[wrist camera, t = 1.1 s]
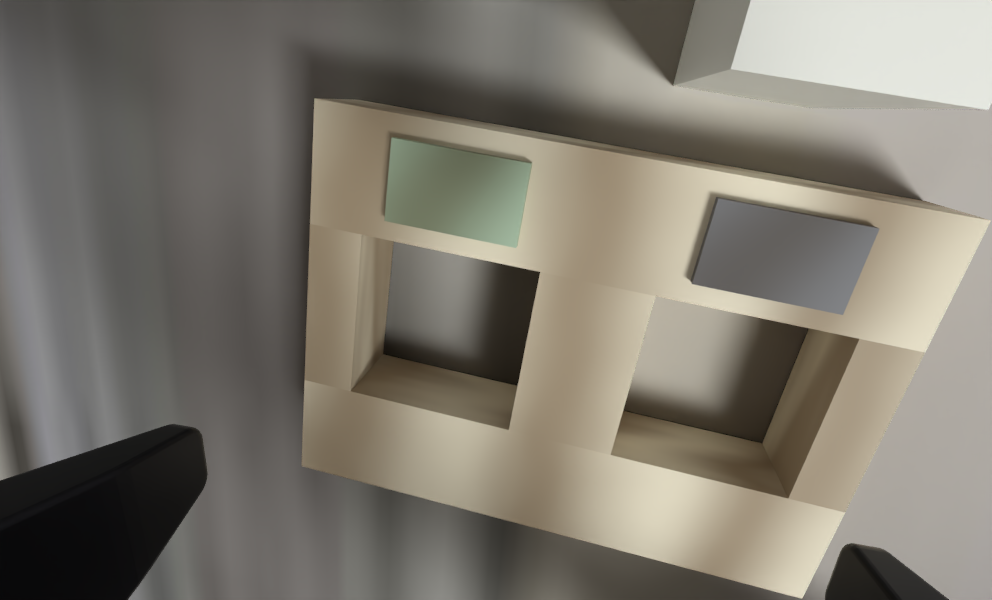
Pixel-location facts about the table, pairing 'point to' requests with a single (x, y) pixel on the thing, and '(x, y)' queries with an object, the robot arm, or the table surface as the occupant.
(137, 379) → the table surface
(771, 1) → the white squarish block
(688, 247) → the socket block
